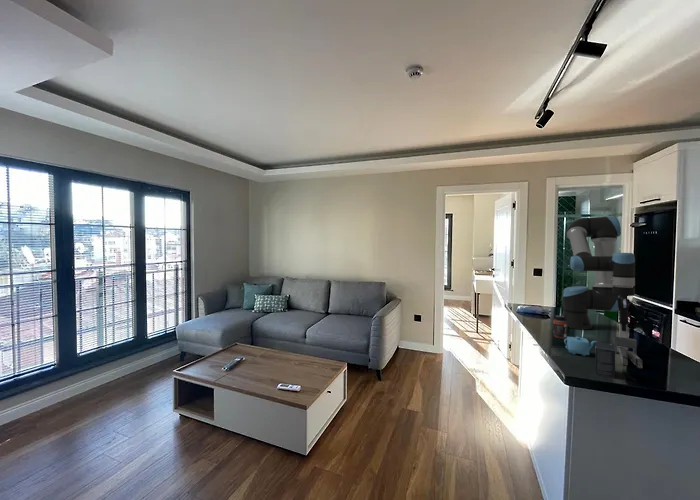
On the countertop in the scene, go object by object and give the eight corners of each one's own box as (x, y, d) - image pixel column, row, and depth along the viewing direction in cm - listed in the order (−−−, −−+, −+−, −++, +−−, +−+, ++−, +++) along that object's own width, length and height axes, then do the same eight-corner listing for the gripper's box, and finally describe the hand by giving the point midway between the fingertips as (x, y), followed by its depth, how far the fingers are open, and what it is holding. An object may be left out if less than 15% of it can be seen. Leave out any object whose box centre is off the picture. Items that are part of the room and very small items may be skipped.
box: (595, 367, 118) (595, 341, 118) (614, 371, 115) (614, 344, 114) (595, 374, 112) (595, 346, 112) (615, 378, 109) (615, 350, 108)
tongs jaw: (628, 358, 127) (628, 350, 127) (633, 358, 126) (633, 351, 126) (637, 367, 117) (637, 359, 117) (642, 368, 116) (642, 360, 116)
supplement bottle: (569, 339, 152) (569, 317, 152) (556, 339, 153) (556, 317, 153) (563, 336, 158) (563, 314, 158) (551, 335, 159) (551, 314, 159)
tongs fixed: (619, 354, 132) (619, 346, 132) (627, 355, 130) (627, 348, 130) (622, 365, 120) (622, 357, 120) (632, 366, 118) (632, 358, 118)
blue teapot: (596, 353, 133) (596, 337, 132) (599, 358, 127) (599, 341, 127) (563, 349, 139) (563, 333, 138) (565, 353, 133) (565, 337, 133)
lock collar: (613, 351, 135) (613, 336, 135) (635, 354, 130) (635, 339, 130) (614, 353, 132) (614, 338, 132) (636, 356, 128) (636, 341, 128)
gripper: (611, 284, 143) (611, 332, 144) (613, 287, 133) (613, 339, 133) (632, 285, 139) (632, 335, 139) (636, 288, 128) (636, 342, 129)
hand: (623, 337), depth 136 cm, fingers closed
